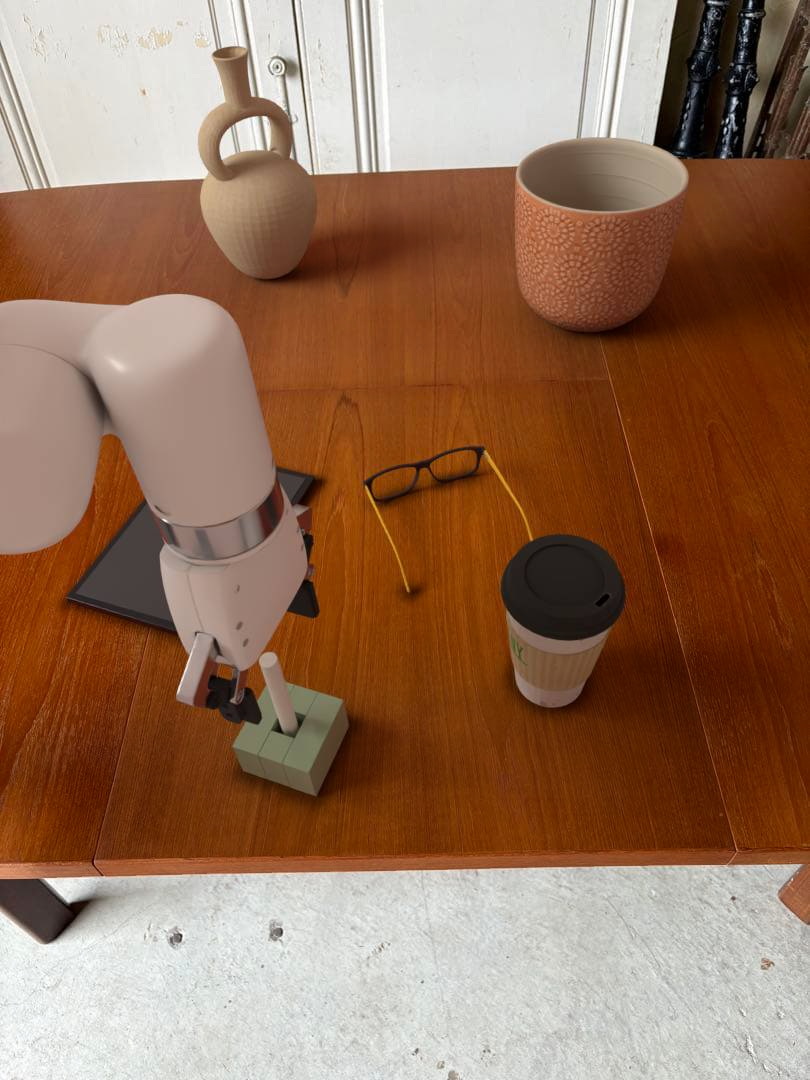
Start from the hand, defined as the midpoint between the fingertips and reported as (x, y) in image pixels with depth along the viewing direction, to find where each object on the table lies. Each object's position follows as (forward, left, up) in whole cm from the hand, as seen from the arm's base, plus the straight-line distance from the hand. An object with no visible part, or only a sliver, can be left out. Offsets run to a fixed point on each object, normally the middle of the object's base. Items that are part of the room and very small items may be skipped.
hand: (272, 661), depth 61 cm
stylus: (0, 0, -14) cm, 14 cm away
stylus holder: (0, 0, -14) cm, 14 cm away
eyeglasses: (+4, +29, -14) cm, 32 cm away
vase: (-39, +72, -14) cm, 83 cm away
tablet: (-21, +19, -14) cm, 32 cm away
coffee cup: (+19, +14, -14) cm, 27 cm away
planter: (+9, +74, -14) cm, 76 cm away
